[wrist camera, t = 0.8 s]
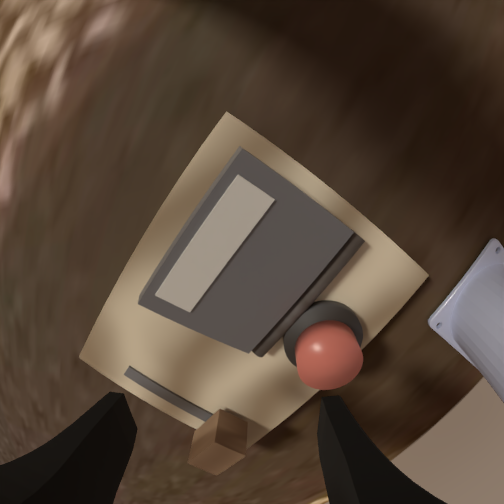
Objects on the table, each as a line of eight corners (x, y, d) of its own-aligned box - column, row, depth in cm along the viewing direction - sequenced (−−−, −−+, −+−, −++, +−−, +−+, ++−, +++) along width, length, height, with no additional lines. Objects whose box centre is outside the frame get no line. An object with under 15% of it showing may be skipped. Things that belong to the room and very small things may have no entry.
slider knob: (247, 422, 21) (245, 455, 18) (220, 444, 22) (216, 475, 19) (219, 408, 21) (214, 442, 18) (194, 431, 22) (187, 463, 19)
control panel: (419, 266, 19) (436, 281, 17) (244, 438, 24) (243, 460, 22) (229, 114, 17) (224, 109, 14) (87, 346, 22) (72, 364, 20)
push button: (367, 339, 18) (376, 357, 16) (326, 379, 19) (331, 398, 17) (323, 308, 17) (329, 325, 15) (281, 353, 18) (283, 372, 16)
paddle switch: (347, 226, 17) (354, 233, 16) (246, 344, 19) (249, 355, 18) (239, 145, 14) (242, 148, 13) (139, 295, 16) (137, 305, 15)
